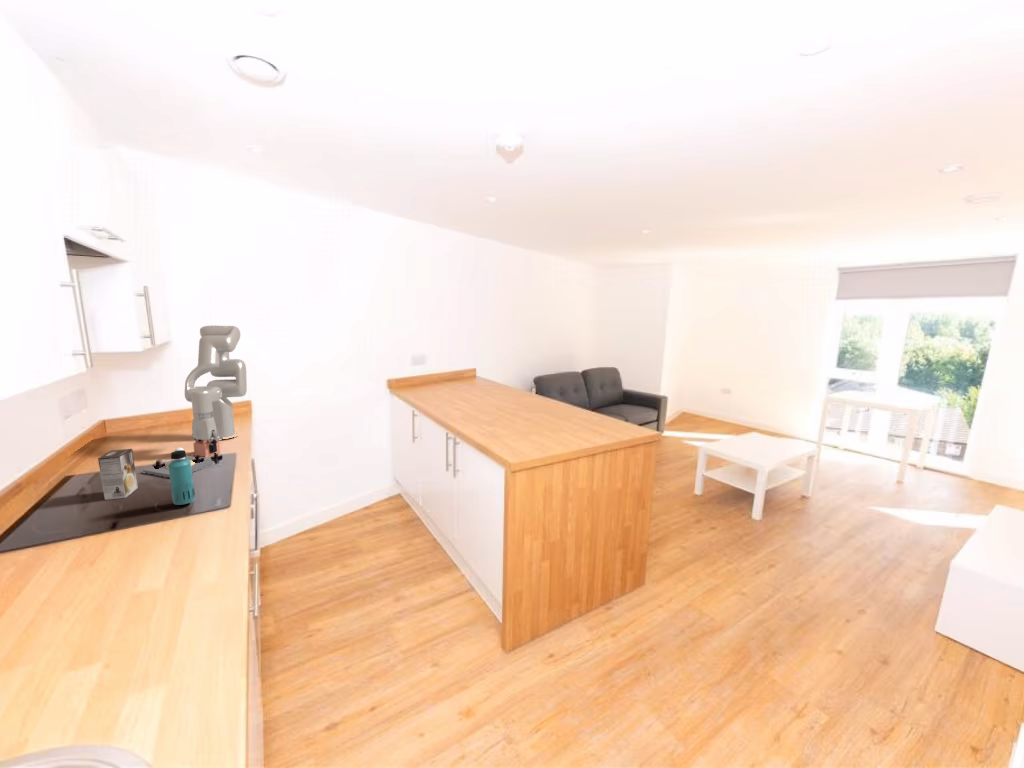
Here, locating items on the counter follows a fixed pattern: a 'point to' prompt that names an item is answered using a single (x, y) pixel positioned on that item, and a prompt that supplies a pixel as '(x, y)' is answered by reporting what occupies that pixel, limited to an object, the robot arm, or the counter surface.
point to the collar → (204, 448)
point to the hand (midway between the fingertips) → (207, 451)
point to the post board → (166, 471)
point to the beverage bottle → (181, 479)
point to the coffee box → (118, 474)
